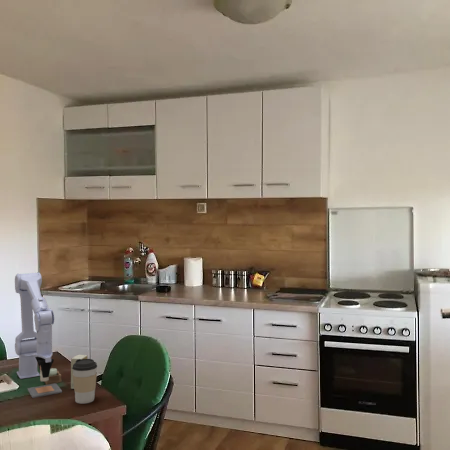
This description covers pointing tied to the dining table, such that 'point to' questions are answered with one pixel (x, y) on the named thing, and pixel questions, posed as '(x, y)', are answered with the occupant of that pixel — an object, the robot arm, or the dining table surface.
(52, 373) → the button
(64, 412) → the dining table surface
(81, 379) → the coffee cup
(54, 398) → the dining table surface
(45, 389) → the grey square plate
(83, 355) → the skincare box
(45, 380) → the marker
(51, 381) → the button housing
